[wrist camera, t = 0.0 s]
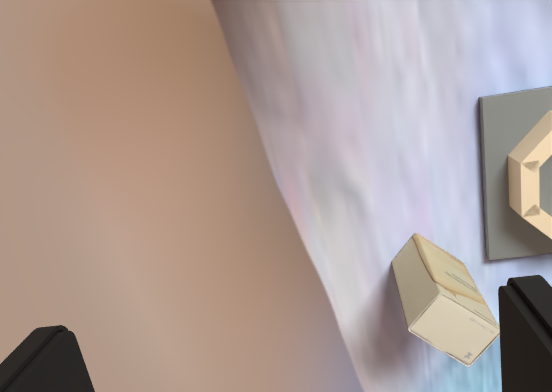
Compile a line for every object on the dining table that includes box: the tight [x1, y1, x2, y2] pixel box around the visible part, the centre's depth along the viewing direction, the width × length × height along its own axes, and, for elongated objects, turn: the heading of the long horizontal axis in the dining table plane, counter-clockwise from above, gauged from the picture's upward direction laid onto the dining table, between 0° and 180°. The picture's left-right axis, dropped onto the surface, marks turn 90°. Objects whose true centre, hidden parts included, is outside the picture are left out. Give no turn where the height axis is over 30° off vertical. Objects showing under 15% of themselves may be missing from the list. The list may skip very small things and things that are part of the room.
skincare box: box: [392, 233, 500, 367], centre depth 43 cm, size 6×4×12 cm
